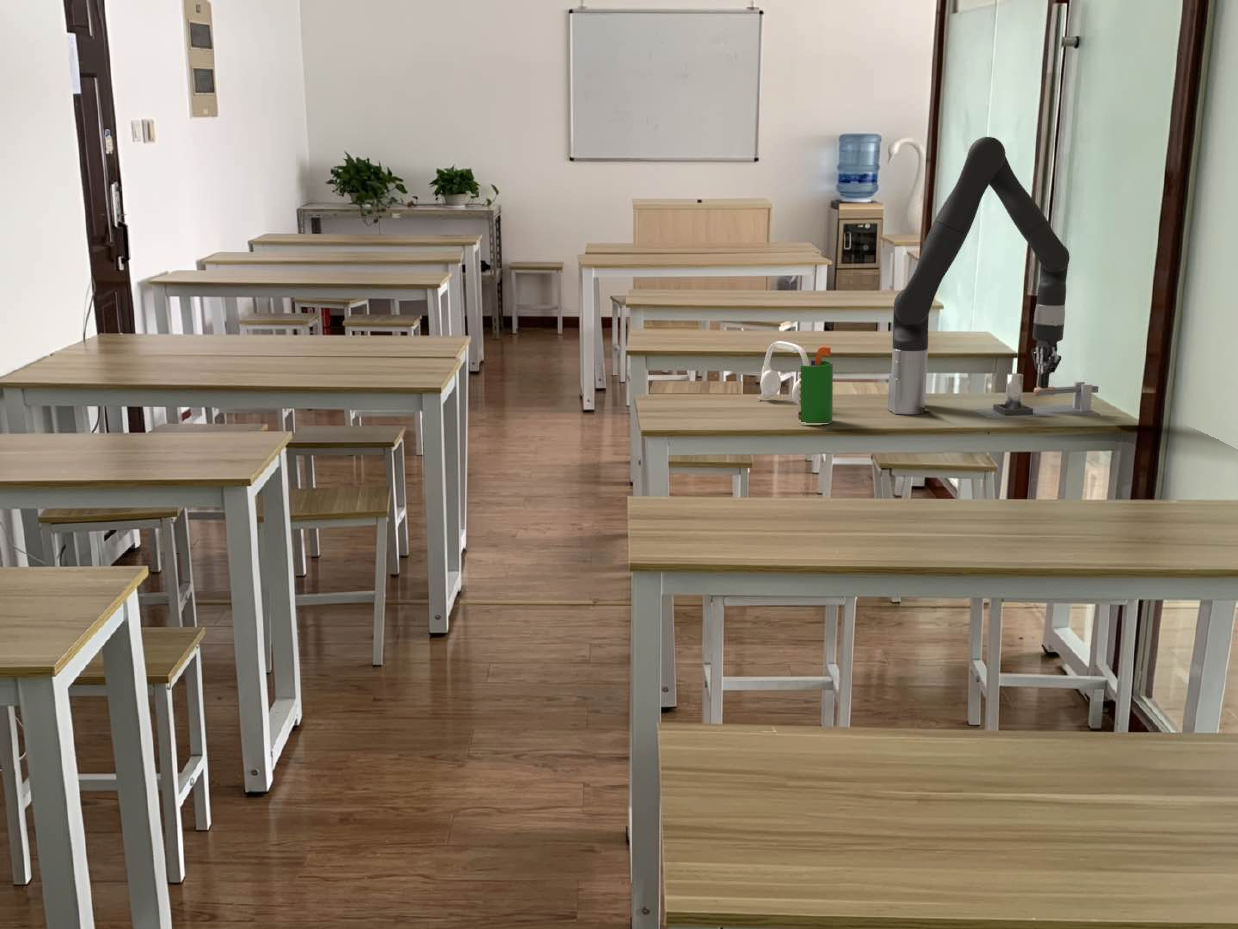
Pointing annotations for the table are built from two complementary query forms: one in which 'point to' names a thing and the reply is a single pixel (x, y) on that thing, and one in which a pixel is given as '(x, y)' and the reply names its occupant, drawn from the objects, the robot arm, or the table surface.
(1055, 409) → the grey flat base
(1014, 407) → the translucent white cylinder
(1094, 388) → the lever
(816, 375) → the green cup with straw
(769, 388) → the headset
